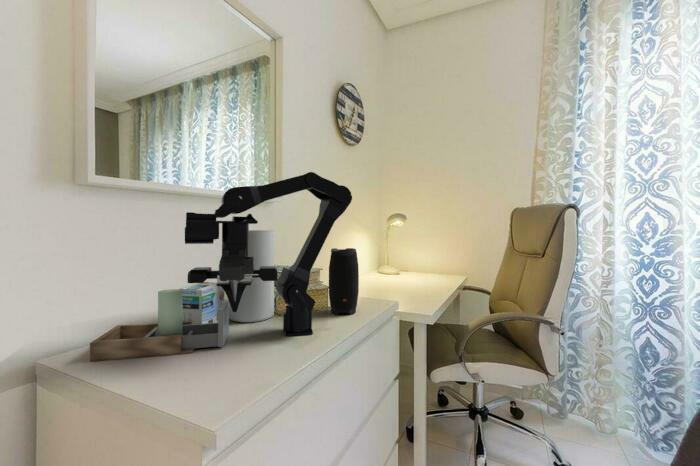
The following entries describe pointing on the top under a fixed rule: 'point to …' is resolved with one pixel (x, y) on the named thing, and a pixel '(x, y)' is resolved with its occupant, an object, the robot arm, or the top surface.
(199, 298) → the light bulb box
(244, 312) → the cylinder vase
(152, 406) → the top surface
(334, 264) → the portable speaker
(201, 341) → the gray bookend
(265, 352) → the top surface
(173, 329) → the pale green cylinder
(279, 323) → the top surface
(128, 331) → the dock
